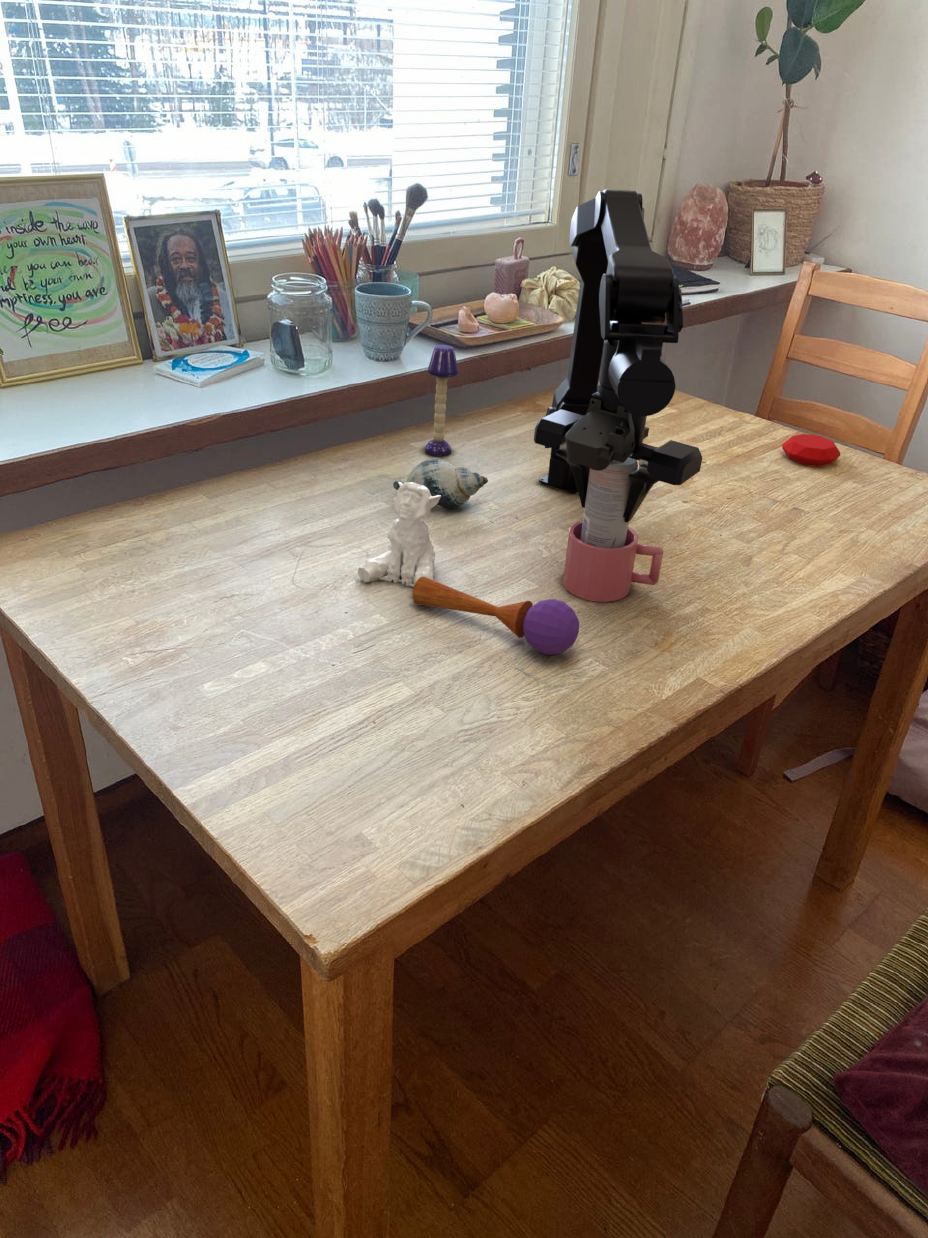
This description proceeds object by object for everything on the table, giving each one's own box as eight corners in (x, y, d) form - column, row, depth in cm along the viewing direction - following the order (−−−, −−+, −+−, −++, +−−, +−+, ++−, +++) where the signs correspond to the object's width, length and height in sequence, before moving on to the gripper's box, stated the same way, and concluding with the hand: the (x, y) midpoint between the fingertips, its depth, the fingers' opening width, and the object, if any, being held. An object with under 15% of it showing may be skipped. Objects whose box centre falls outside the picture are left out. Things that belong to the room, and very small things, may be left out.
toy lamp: (427, 444, 153) (431, 341, 144) (456, 447, 153) (461, 344, 144) (422, 454, 149) (425, 349, 140) (451, 457, 149) (456, 352, 140)
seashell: (421, 495, 139) (480, 521, 133) (387, 487, 134) (447, 514, 127) (434, 454, 138) (495, 478, 131) (401, 444, 132) (462, 469, 125)
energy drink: (627, 543, 115) (643, 452, 108) (618, 563, 111) (634, 469, 104) (585, 534, 116) (597, 443, 110) (574, 553, 112) (587, 460, 105)
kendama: (436, 560, 110) (591, 601, 101) (432, 608, 112) (584, 652, 103) (407, 570, 106) (567, 613, 96) (403, 620, 108) (560, 667, 98)
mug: (559, 596, 113) (566, 544, 109) (566, 565, 120) (572, 515, 116) (655, 609, 111) (665, 557, 108) (656, 577, 118) (665, 527, 114)
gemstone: (791, 444, 162) (795, 427, 160) (843, 457, 158) (848, 440, 156) (773, 458, 156) (777, 441, 154) (827, 473, 151) (831, 455, 150)
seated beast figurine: (355, 581, 113) (354, 489, 107) (386, 552, 120) (386, 464, 114) (427, 599, 110) (430, 505, 104) (455, 568, 117) (459, 478, 111)
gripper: (513, 381, 101) (502, 513, 110) (671, 424, 92) (646, 563, 101) (565, 360, 109) (552, 484, 117) (716, 397, 100) (690, 529, 109)
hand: (606, 514), depth 111 cm, fingers closed on energy drink, 5 cm apart
